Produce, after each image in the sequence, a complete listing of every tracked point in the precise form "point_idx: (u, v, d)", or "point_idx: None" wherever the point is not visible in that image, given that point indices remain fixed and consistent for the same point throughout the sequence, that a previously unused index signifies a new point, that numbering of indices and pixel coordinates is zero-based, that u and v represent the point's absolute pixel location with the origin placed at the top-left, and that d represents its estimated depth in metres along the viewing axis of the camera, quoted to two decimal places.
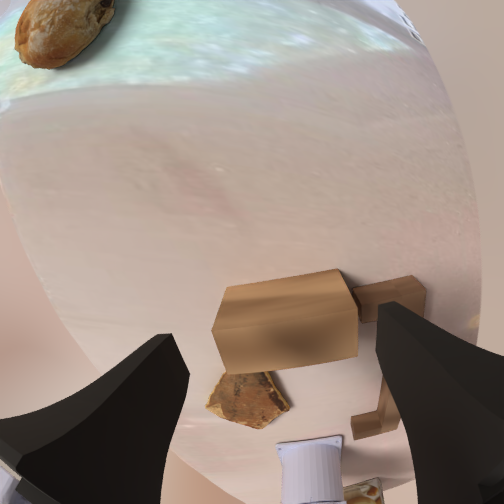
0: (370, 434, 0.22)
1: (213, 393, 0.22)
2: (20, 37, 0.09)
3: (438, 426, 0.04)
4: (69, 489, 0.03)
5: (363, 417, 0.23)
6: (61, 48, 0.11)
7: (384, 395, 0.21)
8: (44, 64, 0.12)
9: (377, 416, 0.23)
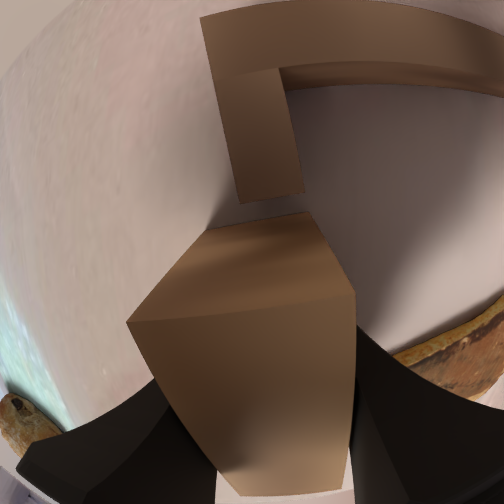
0: None
1: None
2: None
3: (362, 450, 0.04)
4: None
5: None
6: None
7: None
8: None
9: None
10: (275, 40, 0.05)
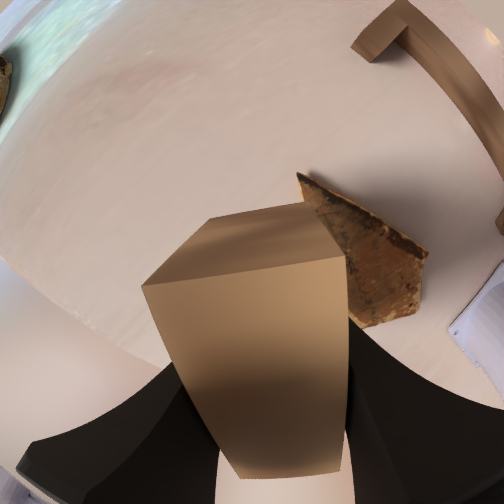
0: None
1: None
2: None
3: (362, 450, 0.04)
4: None
5: None
6: None
7: (499, 154, 0.11)
8: None
9: None
10: (414, 20, 0.08)
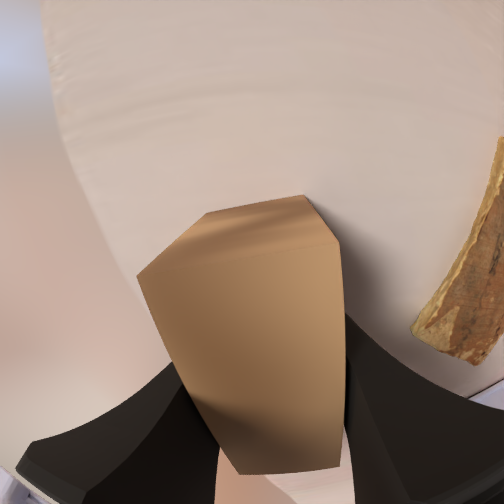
0: None
1: (457, 276, 0.09)
2: None
3: (362, 450, 0.04)
4: None
5: None
6: None
7: None
8: None
9: None
10: None
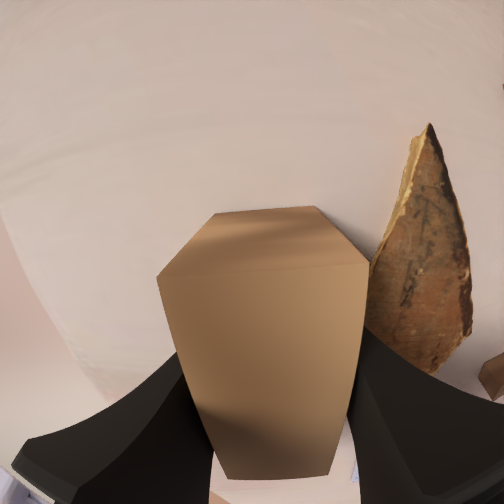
0: None
1: None
2: None
3: (369, 449, 0.04)
4: None
5: (499, 360, 0.11)
6: None
7: None
8: None
9: None
10: None
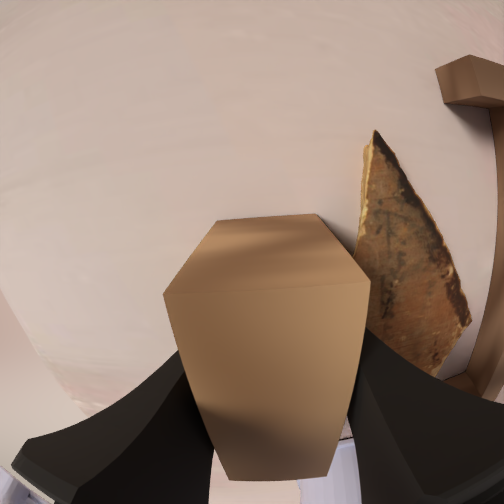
0: None
1: None
2: None
3: (370, 449, 0.04)
4: None
5: None
6: None
7: (495, 327, 0.09)
8: None
9: (469, 380, 0.11)
10: None
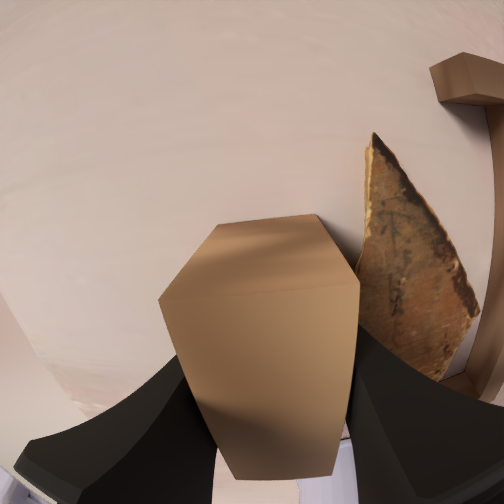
0: None
1: None
2: None
3: (366, 450, 0.04)
4: None
5: (446, 385, 0.11)
6: None
7: (493, 327, 0.09)
8: None
9: (468, 380, 0.11)
10: None
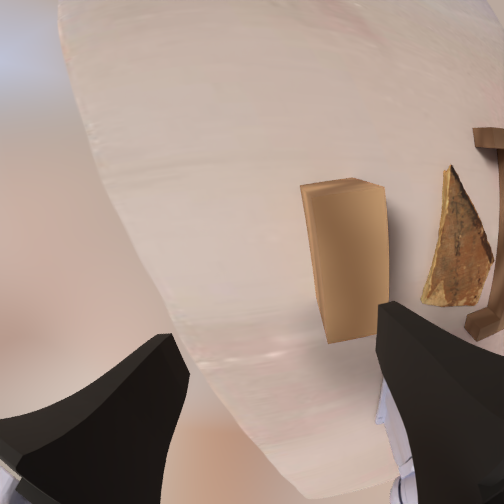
0: (490, 332, 0.16)
1: (435, 266, 0.16)
2: None
3: (438, 426, 0.04)
4: (69, 489, 0.03)
5: (478, 313, 0.18)
6: None
7: (503, 271, 0.16)
8: None
9: (491, 311, 0.17)
10: None
